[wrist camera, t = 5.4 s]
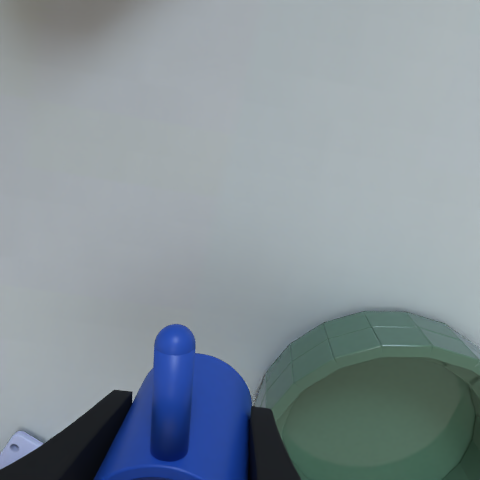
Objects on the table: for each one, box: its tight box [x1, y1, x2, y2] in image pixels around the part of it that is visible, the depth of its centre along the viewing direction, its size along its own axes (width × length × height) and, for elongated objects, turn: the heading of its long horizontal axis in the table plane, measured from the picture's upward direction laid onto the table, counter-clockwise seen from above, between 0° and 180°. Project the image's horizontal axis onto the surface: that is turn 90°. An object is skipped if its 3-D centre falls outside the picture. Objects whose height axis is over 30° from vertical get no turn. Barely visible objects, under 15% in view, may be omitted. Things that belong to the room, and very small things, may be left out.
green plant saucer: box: [254, 311, 480, 480], centre depth 21 cm, size 13×13×4 cm
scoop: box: [94, 324, 252, 480], centre depth 12 cm, size 7×4×5 cm, turn 175°
